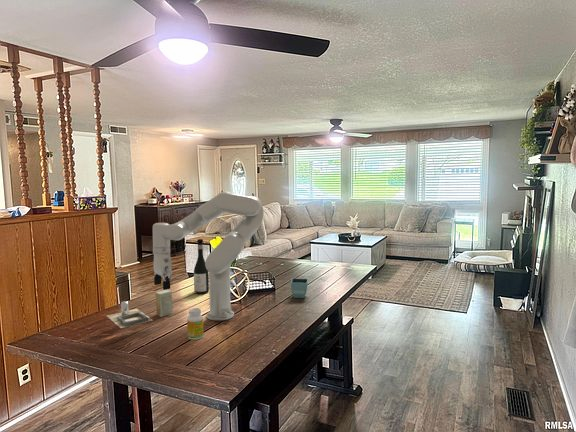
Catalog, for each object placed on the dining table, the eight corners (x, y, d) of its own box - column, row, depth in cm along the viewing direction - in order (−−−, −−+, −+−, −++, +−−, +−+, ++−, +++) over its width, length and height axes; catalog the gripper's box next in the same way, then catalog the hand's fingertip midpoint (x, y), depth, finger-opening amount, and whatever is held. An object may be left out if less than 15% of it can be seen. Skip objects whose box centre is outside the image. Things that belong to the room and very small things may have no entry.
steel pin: (129, 314, 184) (129, 302, 183) (122, 316, 182) (122, 303, 181) (127, 313, 186) (126, 300, 185) (120, 314, 184) (120, 301, 183)
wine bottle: (205, 294, 218) (203, 240, 215) (192, 294, 220) (190, 240, 217) (211, 290, 226) (209, 238, 223) (198, 289, 228) (196, 238, 225)
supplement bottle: (195, 341, 157) (194, 313, 156) (184, 338, 161) (183, 310, 160) (206, 335, 163) (206, 308, 162) (195, 332, 166) (194, 306, 165)
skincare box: (168, 314, 188) (167, 289, 187) (173, 316, 185) (172, 291, 184) (156, 317, 184) (154, 292, 182) (160, 320, 181) (159, 294, 179)
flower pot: (308, 294, 217) (308, 278, 216) (307, 299, 209) (307, 282, 208) (292, 294, 218) (292, 278, 217) (290, 299, 209) (290, 282, 208)
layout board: (153, 323, 177) (153, 316, 177) (120, 331, 168) (120, 324, 167) (137, 311, 192) (136, 305, 192) (106, 318, 183) (106, 312, 183)
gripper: (177, 252, 177) (178, 289, 179) (161, 246, 190) (162, 281, 192) (161, 254, 172) (162, 292, 174) (146, 248, 185) (146, 284, 187)
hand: (162, 286), depth 183 cm, fingers open, 9 cm apart
